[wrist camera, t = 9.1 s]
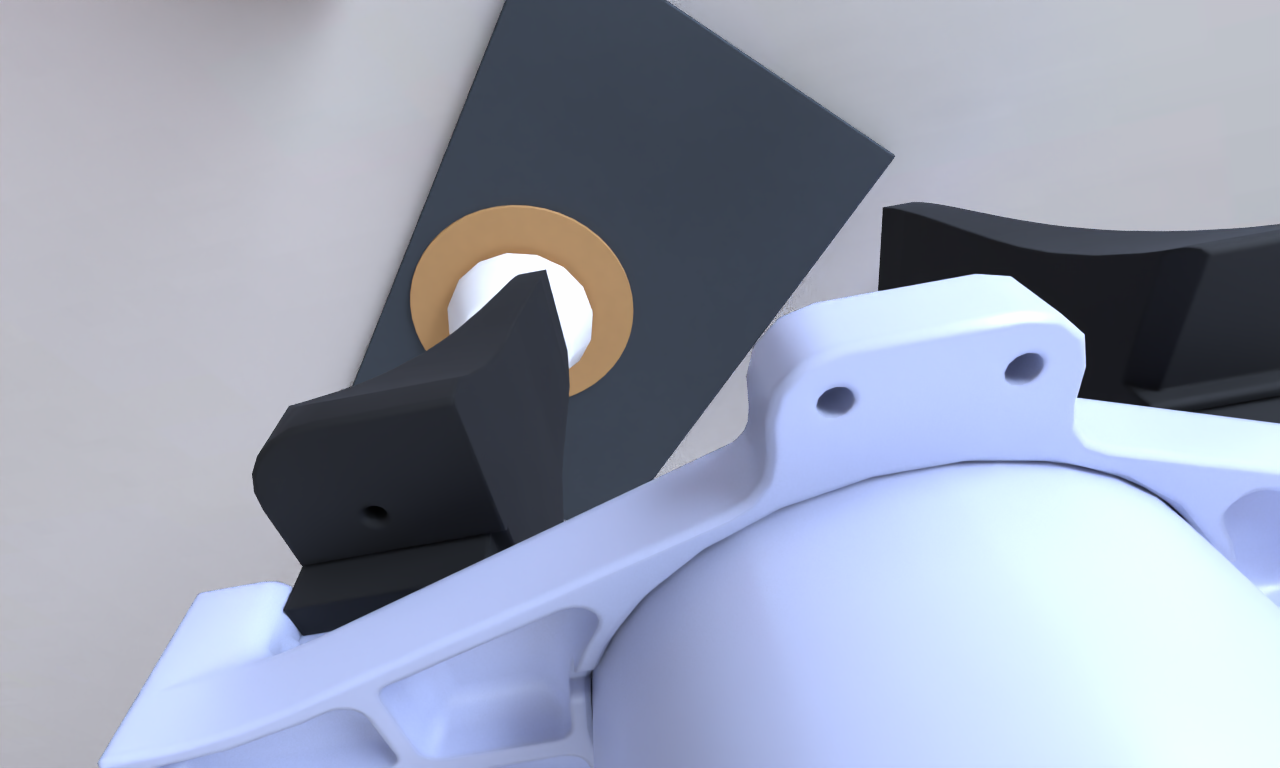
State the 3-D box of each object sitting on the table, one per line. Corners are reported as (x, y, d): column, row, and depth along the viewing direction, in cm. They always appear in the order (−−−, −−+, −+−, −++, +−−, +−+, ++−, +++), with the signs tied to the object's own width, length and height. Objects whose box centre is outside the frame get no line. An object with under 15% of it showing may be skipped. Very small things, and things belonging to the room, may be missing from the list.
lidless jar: (614, 285, 23) (481, 224, 21) (619, 325, 20) (469, 259, 19) (557, 389, 25) (433, 342, 24) (555, 436, 23) (416, 387, 21)
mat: (889, 151, 22) (898, 158, 21) (610, 526, 31) (611, 539, 30) (540, -85, 17) (539, -87, 17) (334, 432, 26) (328, 445, 26)
